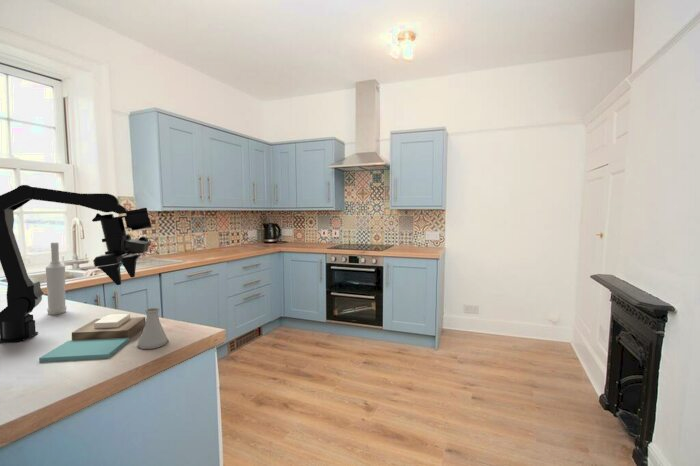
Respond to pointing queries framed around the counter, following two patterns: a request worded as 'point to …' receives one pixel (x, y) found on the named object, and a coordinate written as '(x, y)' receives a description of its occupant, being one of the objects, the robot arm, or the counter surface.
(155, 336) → the flask
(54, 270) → the bottle
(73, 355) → the teal mat
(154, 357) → the counter surface
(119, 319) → the cream tile
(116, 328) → the walnut deck
